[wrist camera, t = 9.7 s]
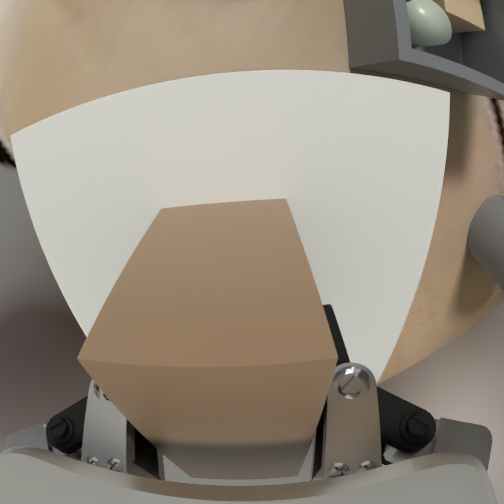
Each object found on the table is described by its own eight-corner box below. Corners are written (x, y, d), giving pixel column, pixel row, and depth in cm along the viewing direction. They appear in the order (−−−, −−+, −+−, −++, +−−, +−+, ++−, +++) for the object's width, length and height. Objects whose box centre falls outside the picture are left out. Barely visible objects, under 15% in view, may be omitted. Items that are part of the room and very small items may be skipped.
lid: (431, 90, 8) (594, 135, 1) (372, 368, 16) (402, 465, 10) (28, 129, 8) (-109, 199, 2) (129, 380, 16) (106, 474, 10)
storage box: (451, -15, 12) (503, -27, 4) (464, 92, 19) (524, 105, 11) (334, -52, 12) (367, -94, 4) (349, 68, 19) (399, 59, 12)
